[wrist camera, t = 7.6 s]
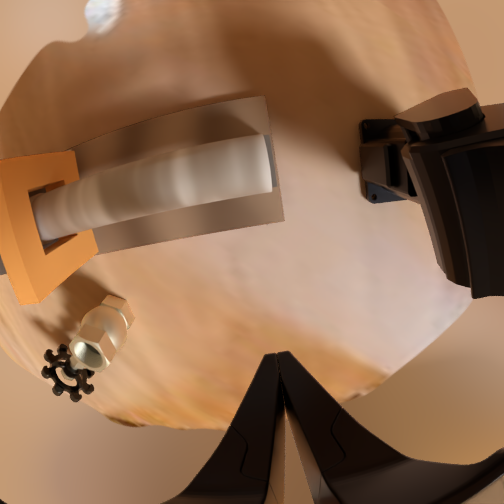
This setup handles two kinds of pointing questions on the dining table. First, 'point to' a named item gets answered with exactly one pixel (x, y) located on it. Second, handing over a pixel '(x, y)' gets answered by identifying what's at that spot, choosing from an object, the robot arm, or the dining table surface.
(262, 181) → the pipe stand
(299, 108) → the dining table surface
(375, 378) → the dining table surface
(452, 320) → the dining table surface
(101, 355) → the valve
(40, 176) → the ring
